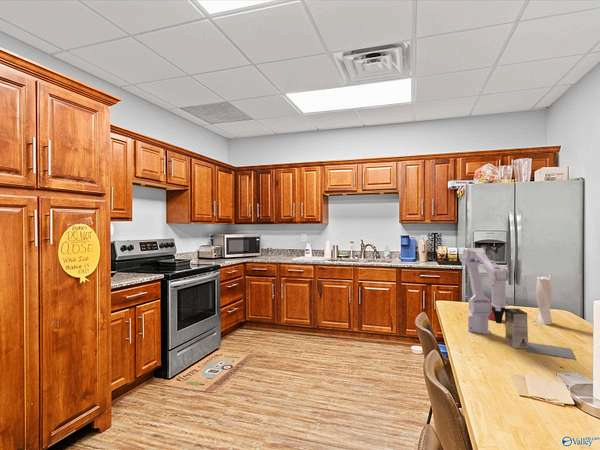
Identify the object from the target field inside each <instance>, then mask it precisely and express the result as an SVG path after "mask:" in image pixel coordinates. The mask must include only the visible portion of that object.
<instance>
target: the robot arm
mask: <svg viewBox="0 0 600 450" xmlns="http://www.w3.org/2000/svg"><path fill="white" fill-rule="evenodd" d="M462 251H463V252H462V257H463V261H464V264H465V265H466V266H467V272H468V275H469V280H470V281H469V282H470V286H471V291H472V297H470V298H469V299H468V310H469V313H468V315H467V317H468V318H467V320H468V321H467V322H468V324H467V329H468V330H467V331H468V332H470V333H475V334H476V333H478V334H484V335H489V334H490V329H489V319H488V315H490V313H491V312H492V311H493V313H494V316H495V320H494V321H495V324H502V323H503V316H504V315H505V309H506V307H509V304H507V303H506V302H507V301H506V300H507V299H506V297H507V296H506V282H507V281H508V280H509V272H508V270H507V269H506V268H502V267H500V266H499V265H498V264H497V263H496V262H495V261H494V260H492V259H491V260H490V259H489V257H488V256H487V255H486V254H487V252H486V250H485V249H484V248H483V247H465V248H464V249H463V250H462ZM480 265H483V266H482V267H483V269H484V270H485V271H486V272H487V274H488V278H489V283H490V284H491V298H492V303H490V300H489V298H490V297H487V296H486V295H485V294H484V290H483V286H482V281H481V277H480V276H481V275H480V271H479V267H478V266H480ZM492 306H494V307H492Z"/></svg>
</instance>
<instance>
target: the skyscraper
mask: <svg viewBox="0 0 600 450" xmlns="http://www.w3.org/2000/svg"><path fill="white" fill-rule="evenodd" d="M535 296H536V303H537V307H538V308H537V314H536V320H533V322H534V323H538V324H540V323H541V325H545V326H548V325H555V323H553V321H552V314H551V309H550V307H551V304H552V299H553V285H552V275H551V274H549V275H548V277H547V276H541V277H539V276H537V279H536V287H535Z"/></svg>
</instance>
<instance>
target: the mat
mask: <svg viewBox="0 0 600 450" xmlns="http://www.w3.org/2000/svg"><path fill="white" fill-rule="evenodd" d="M525 349H526V352H527V353H531V354H536V355H537V354H538V355H544V356H549V357H550V356H551V357H555V358H563V359H569V360H575V361H576V360H577V358H576V355H575V354H574V352H573V350H572V348H569V347H564V346H556V345H549V344H543V343H538V342H537V343H536V342H530V341H528V348H525Z"/></svg>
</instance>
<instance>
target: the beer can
mask: <svg viewBox="0 0 600 450" xmlns="http://www.w3.org/2000/svg"><path fill="white" fill-rule="evenodd" d="M488 298H489V300H490V303H492V297H488ZM492 307H494V306H492ZM488 320H492V321H495V316H494V313H493V311H492V312H491V313H490V315H488Z"/></svg>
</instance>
